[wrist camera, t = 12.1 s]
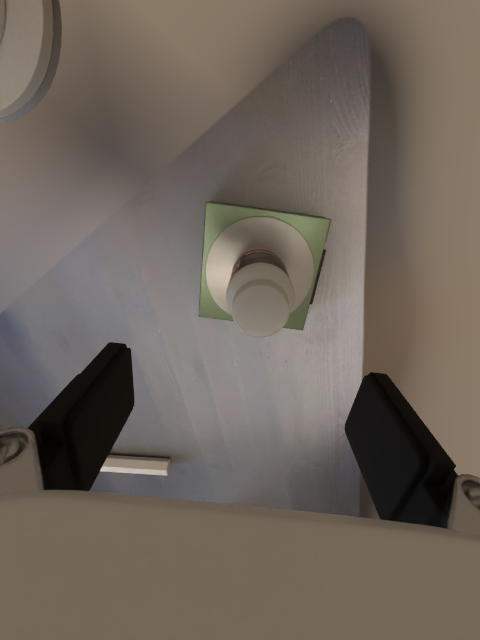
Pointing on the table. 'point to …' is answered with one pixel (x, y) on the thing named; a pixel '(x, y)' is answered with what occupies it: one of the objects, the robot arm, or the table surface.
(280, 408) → the table surface
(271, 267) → the pill bottle
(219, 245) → the pan
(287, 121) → the table surface
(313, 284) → the scale
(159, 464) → the white pencil
